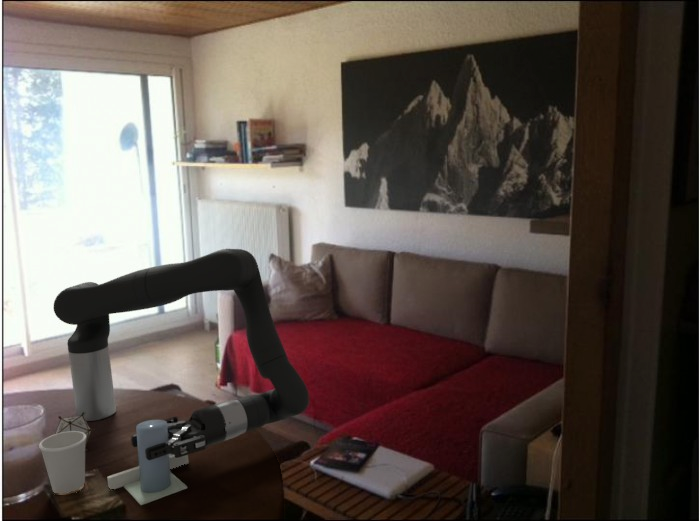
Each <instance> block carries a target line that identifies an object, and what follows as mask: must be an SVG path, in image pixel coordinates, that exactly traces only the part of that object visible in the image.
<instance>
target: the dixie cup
mask: <svg viewBox="0 0 700 521" xmlns="http://www.w3.org/2000/svg"><path fill="white" fill-rule="evenodd" d="M85 439H86V434H84V433H83V432H79V431H67V432H61V433H57V434H55V433H54V434H52V435H50V436H47V437H45V438H44V439H42V440H41V441H40V443H39V444H38V447H39V450H40V452H41V453H42V457H43V461H44V464H45V465H44V466H45V467H46V468H45V469H46V471H47V475H48V479H49V482H50V485H51V486H50V487H51V489H52V492H54V493H60V494H62V493H69V492H71V491H75V490H77V489H79V488H80V487H82V486H83V485H84V483H85V484H86V450H85ZM54 493H53V494H54Z"/></svg>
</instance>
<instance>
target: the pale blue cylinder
mask: <svg viewBox="0 0 700 521" xmlns="http://www.w3.org/2000/svg"><path fill="white" fill-rule="evenodd" d="M164 420H165V419H150V420H145V421H141V422H140V423H138V424H136V428H135V429H136V434H137V445H138V447H137V456H138V457H137V458H138V466H139V474H140V488H141V490H142V491H145V492H158V491H161V490H164V489H166V488H168V487H169V486H170V485H171V477H170V472H171V470H170V461H169V455H168V454H167V455H164V456H161V457H158V458H155V459H152V460H148V459H146V454H145V450H146V448H148V447H151V446H155V445H158V444H161V443H166V442H167V441H168V437H169V433H168V429H167V422H166V421H164ZM166 444H167V443H166Z"/></svg>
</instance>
